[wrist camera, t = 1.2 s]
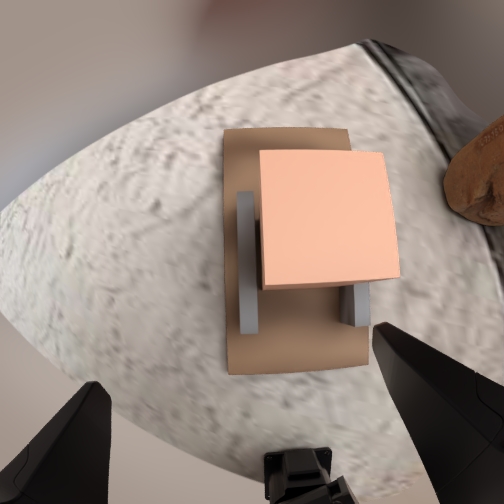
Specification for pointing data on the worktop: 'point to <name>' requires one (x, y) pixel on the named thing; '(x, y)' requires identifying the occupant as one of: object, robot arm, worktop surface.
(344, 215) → the block
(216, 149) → the worktop surface
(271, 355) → the chute
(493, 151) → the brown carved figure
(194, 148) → the worktop surface
